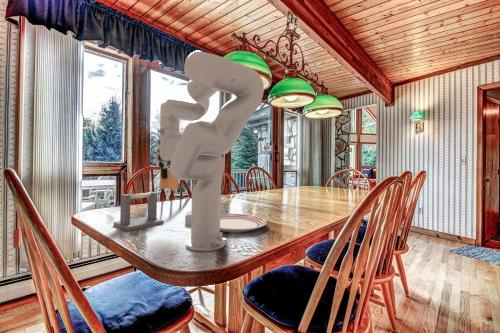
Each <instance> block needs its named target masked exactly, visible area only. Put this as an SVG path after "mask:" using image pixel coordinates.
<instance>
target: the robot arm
mask: <svg viewBox="0 0 500 333" xmlns="http://www.w3.org/2000/svg"><path fill="white" fill-rule="evenodd" d="M183 70H184V74H185V76H186V78H188V79H189V81H188V83H187V85H186V86H187V87H186V88H187V92H188V95H189V96H190V98H192V99H193V100H194V101H195V102H193V101H189V100H184V99H178V98H172V97H171V98H168V99H167V100H166V101H165V102H163V103H161V104H160V121H159V124H160V126H159V129H157V133H159V136H158V138H157V143H156V152H155V153H156V155H155V156H154V158H153V159H152V160H153V161H152V162H153V163H155V164H157V165H158V167H159V170H160V169H161V178H162V179H167V169H168V168H167V165H168V162H170V164H169V165H170V168H169V169H171V173H172V175H173V176H174V177H175V178H177V179H179V181H192V180H193V181H196V180H197V181H196V183H195V184H194V187H193V189H192V192H191V211H192V212H191V225H190V226H191V227H190V238H189V239H188V240H187V241H186V243H185V246H186V248H187V249H188V250H190V251H193V252H194V251H195V252H213V251H217V250H220V249H222V248H223V247H224V246H225V245H226V244H227V243H228V239H227V238H225V237H223V232H222V231H220V214H221V204H222V200H221V199H222V185H223V184H222V183H223V176H224V172H225V166H226V164H225V159H224V157H223V156H222V155H226V154H228V153H229V152H230V151H231V150H232V148H233V146H234V145H235V143H237V142H236V141H237V140H238V139H239V136H240V135H241V133H242V132H243V130H244V127H245V126H246V125H247V123H248V121H249V120H250V118H251V117H252V116H253V115H254V113H255V112H256V111H257V109H258V107H259V106H260V104H261V102H262V100H263V96H264V90H265V88H264V81H263V78H262V76H261V75H260V74H259V73H258V71H257V70H255V69H253V68H251V67H249V66H246V65H244V64H241V63H239V62H237V61H233V60H231V59H228V58H225V57H223V56H220V55H217V54H214V53H210V52H204V51H201V50H194V51H193V52H191V53H190V54H188V56H187V57H186V58H185V62H184V69H183ZM217 92H222V93H226V94H230V95H234V97H233V98H231V99H230V100H229V101H227V102H226V103H225V104H224V105H223V106H221V108H220V109H219V111H218V114H217V115H216V118H215V119H214V120H213V121H205V120H200V119H202V117H204V116H205V115H206V114H207V112H208V110H209V108H210V98H211V97H213V95H215V94H216V93H217ZM180 120H181V121H189V122H190V123H188V124H187V125H186V126H185V128H184V129H183V131H182V133H181V136H180Z"/></svg>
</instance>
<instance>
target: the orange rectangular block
mask: <svg viewBox="0 0 500 333" xmlns="http://www.w3.org/2000/svg"><path fill="white" fill-rule="evenodd" d="M166 169H167V179H162V178H161V169H160V168H159V189H160V190H165V189H167V190H168V191H174V190H179V181H180V180H179V179H177V178H175V177H174V176H173V175H172V173H171V169H170V168H166Z"/></svg>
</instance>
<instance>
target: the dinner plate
mask: <svg viewBox="0 0 500 333" xmlns="http://www.w3.org/2000/svg"><path fill="white" fill-rule="evenodd" d="M266 225H267V221H266V219H264V218H262V217H259V216H256V215H253V214H252V215H251V214H246V213H244V214H243V213H220V232H225V233H245V232H246V231H247V232H251V231H255V230H257V229H259V228H261V227H264V226H266ZM250 230H251V231H250Z"/></svg>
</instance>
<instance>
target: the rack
mask: <svg viewBox="0 0 500 333" xmlns="http://www.w3.org/2000/svg"><path fill="white" fill-rule="evenodd" d="M144 198H147V216H144V217H137V218H131V200H136V199H144ZM157 203H158V193H157V192H155V191H148V192H145V193H144V192H142V193H131V194H128V193H127V194H120V215H119V216H120V218H119V219H120V221H119V220H118V221H113V226H114V227H116V228H118V229H121V230H123V231H127V232H130V231H136V230H140V229H145V228H150V227H154V226H158V225H160V226H161V225H164V224H165V223H164V222H165V221H164V220H163V219H159V218H157V215H158V214H157V213H158V212H157V211H158V210H157V209H158V208H157V206H158V205H157Z"/></svg>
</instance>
